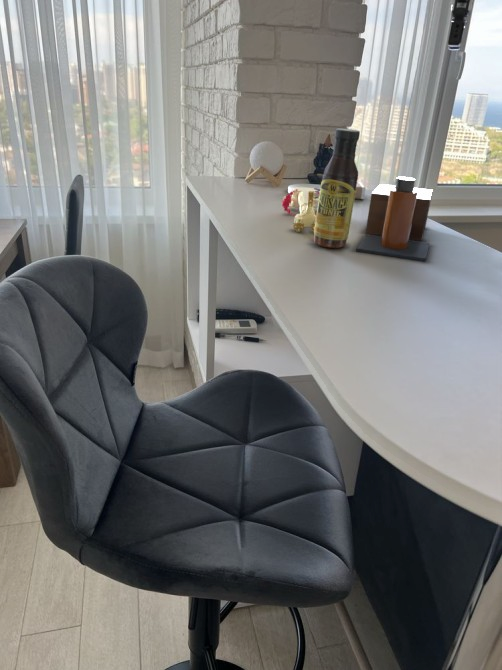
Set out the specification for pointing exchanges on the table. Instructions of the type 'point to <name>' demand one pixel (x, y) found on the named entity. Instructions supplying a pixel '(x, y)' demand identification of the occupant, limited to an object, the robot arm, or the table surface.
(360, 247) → the mat
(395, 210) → the spice bottle
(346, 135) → the sauce bottle
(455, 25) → the robot arm
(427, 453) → the table surface
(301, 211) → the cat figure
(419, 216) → the brown open box
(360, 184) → the record player
